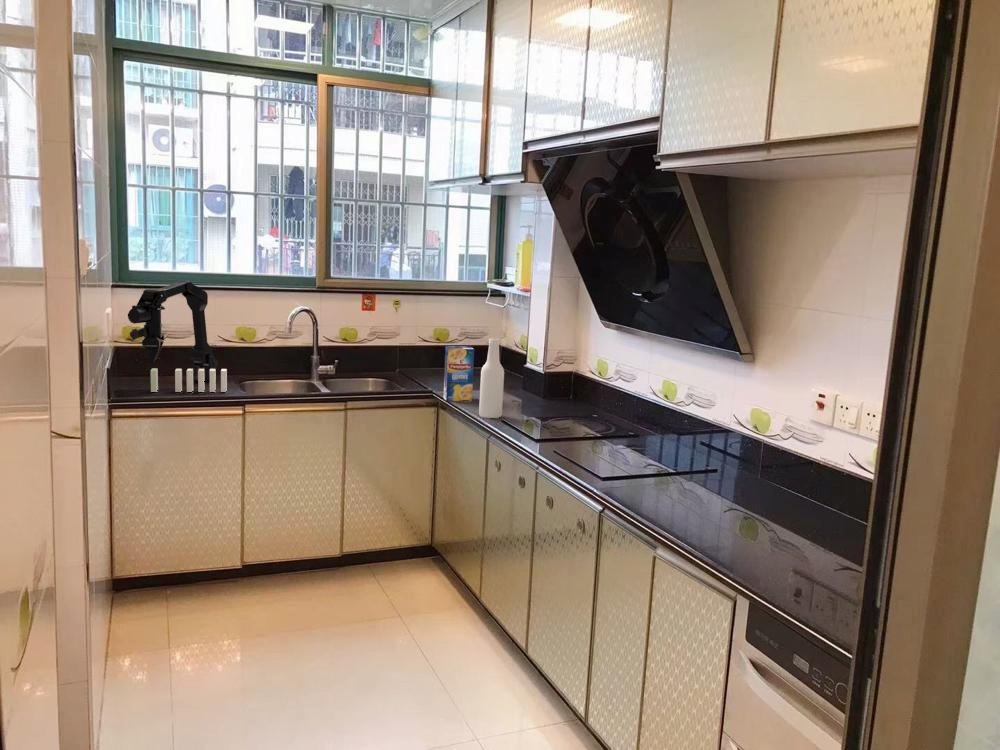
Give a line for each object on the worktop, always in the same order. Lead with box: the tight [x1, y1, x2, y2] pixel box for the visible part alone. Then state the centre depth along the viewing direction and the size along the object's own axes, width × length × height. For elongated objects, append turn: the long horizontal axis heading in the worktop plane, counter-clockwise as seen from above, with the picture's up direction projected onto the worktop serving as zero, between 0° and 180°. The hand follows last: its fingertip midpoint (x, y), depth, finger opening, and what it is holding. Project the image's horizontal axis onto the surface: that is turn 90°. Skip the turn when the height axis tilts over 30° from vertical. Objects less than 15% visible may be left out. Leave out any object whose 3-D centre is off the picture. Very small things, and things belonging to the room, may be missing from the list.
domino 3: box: [186, 368, 194, 393], centre depth 326 cm, size 2×5×9 cm, turn 16°
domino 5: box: [209, 368, 217, 393], centre depth 329 cm, size 2×5×9 cm, turn 16°
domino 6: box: [220, 368, 228, 393], centre depth 330 cm, size 2×5×9 cm, turn 16°
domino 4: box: [197, 369, 205, 393], centre depth 328 cm, size 2×5×9 cm, turn 16°
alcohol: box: [478, 337, 505, 419], centre depth 309 cm, size 9×9×30 cm
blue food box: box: [442, 345, 475, 402], centre depth 339 cm, size 7×11×22 cm, turn 104°
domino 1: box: [150, 367, 159, 393], centre depth 323 cm, size 2×5×9 cm, turn 16°
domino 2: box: [174, 368, 183, 393], centre depth 325 cm, size 2×5×9 cm, turn 16°
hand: (153, 360), depth 321 cm, fingers open, 8 cm apart
